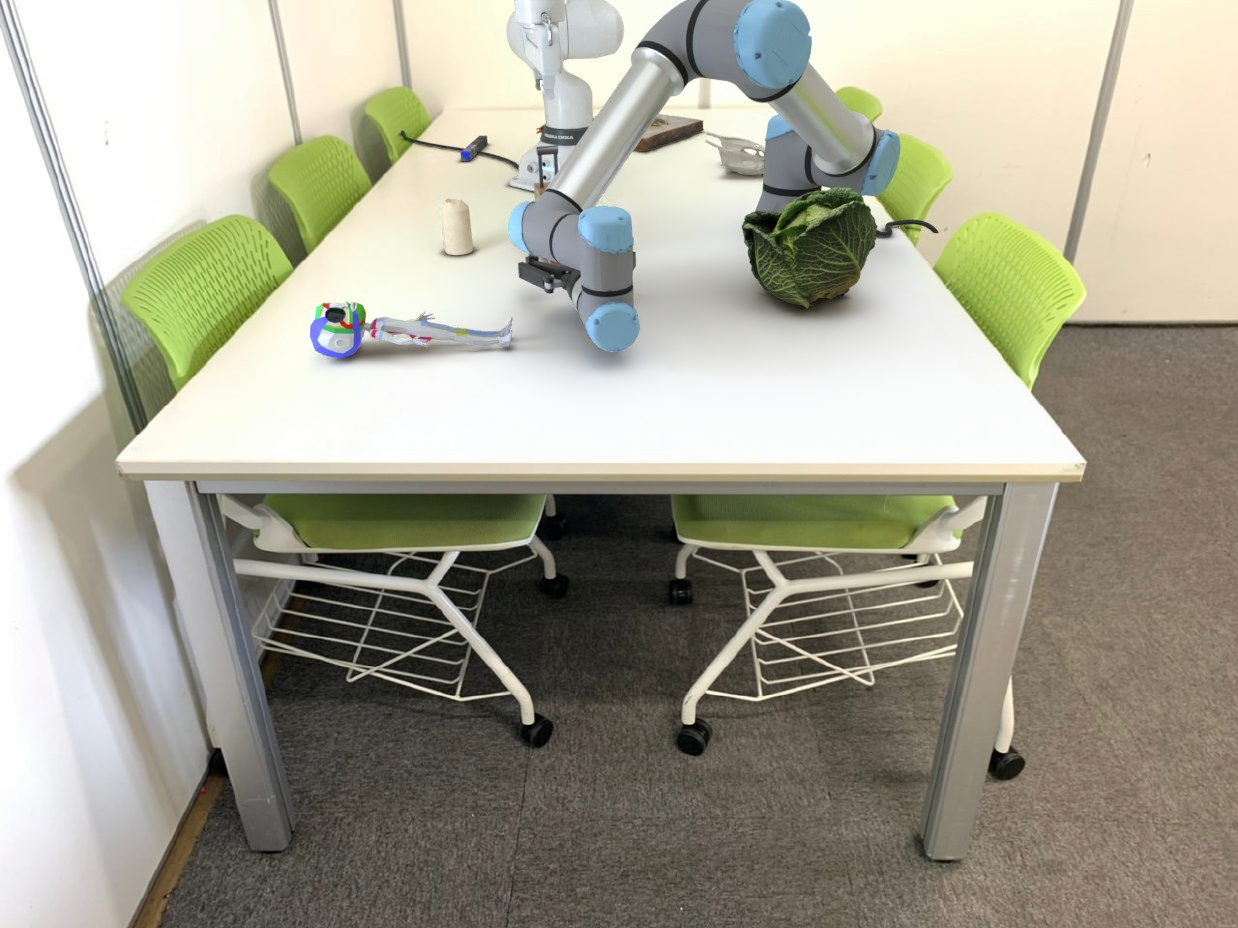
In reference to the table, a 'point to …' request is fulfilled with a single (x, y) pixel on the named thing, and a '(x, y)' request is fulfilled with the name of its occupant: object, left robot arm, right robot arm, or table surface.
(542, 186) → the lid
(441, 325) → the toy
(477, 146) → the grey square bar
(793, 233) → the vegetable
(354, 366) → the table surface
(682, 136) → the plaque
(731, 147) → the anatomical model
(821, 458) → the table surface
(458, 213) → the candle
